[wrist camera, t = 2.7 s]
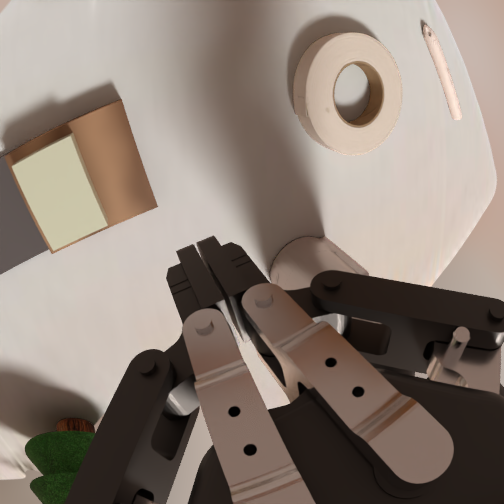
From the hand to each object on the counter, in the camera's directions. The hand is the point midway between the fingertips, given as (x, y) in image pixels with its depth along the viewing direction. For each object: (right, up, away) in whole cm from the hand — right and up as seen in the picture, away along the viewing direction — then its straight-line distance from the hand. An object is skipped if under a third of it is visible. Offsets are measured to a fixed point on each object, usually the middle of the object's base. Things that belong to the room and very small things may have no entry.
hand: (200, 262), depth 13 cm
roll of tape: (+13, +20, +22) cm, 33 cm away
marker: (+31, +29, +26) cm, 50 cm away
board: (-14, +8, +15) cm, 22 cm away
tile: (-15, +6, +13) cm, 21 cm away
